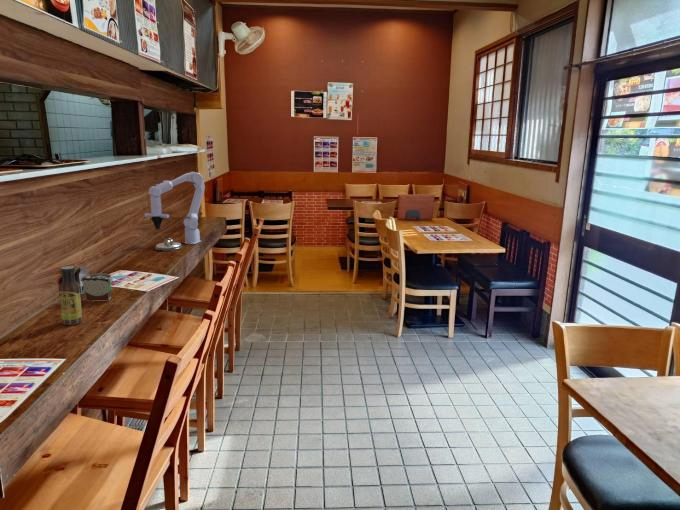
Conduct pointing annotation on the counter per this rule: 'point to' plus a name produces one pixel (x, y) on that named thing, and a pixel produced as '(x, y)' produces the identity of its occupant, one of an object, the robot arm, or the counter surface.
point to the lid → (169, 241)
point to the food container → (97, 286)
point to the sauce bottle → (69, 297)
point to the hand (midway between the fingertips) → (157, 229)
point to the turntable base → (168, 249)
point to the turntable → (168, 245)
